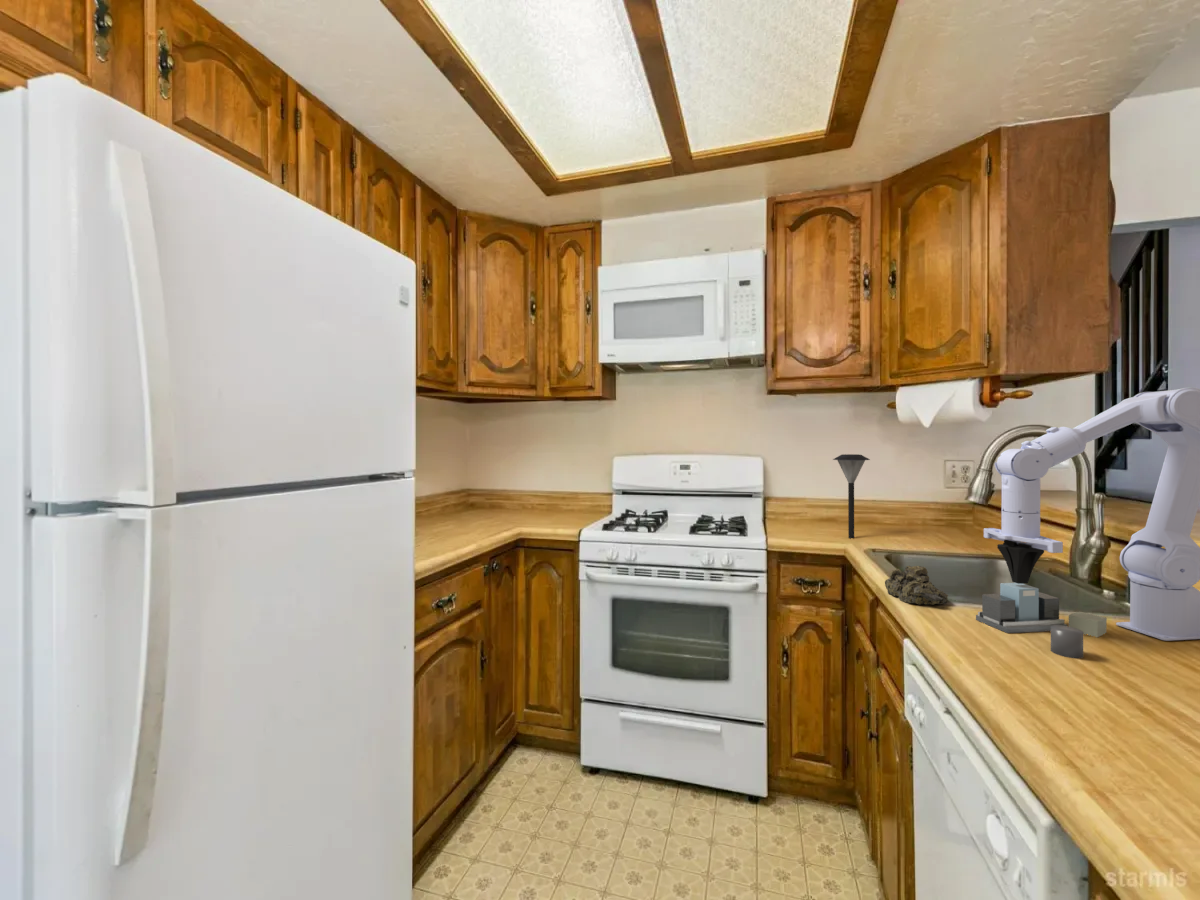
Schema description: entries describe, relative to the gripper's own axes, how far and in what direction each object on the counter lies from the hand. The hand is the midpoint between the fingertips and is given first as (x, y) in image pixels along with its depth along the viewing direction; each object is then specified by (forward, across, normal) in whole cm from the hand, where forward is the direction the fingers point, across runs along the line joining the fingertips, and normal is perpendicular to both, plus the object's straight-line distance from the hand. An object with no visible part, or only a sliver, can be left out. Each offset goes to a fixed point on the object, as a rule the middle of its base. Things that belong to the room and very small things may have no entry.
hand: (1020, 582), depth 97 cm
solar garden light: (+8, -84, +18) cm, 87 cm away
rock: (+9, -17, -8) cm, 21 cm away
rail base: (+8, 0, 0) cm, 8 cm away
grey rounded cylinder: (+8, +12, -4) cm, 15 cm away
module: (+7, 0, 0) cm, 7 cm away
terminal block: (+8, +4, +9) cm, 13 cm away
